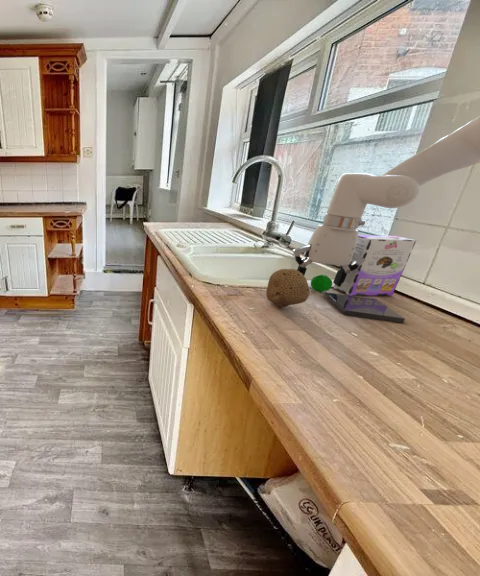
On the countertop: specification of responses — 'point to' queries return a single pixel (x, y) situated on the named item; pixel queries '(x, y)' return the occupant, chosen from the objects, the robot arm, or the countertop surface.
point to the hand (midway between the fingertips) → (317, 282)
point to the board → (363, 307)
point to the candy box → (377, 265)
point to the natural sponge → (287, 288)
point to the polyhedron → (321, 283)
